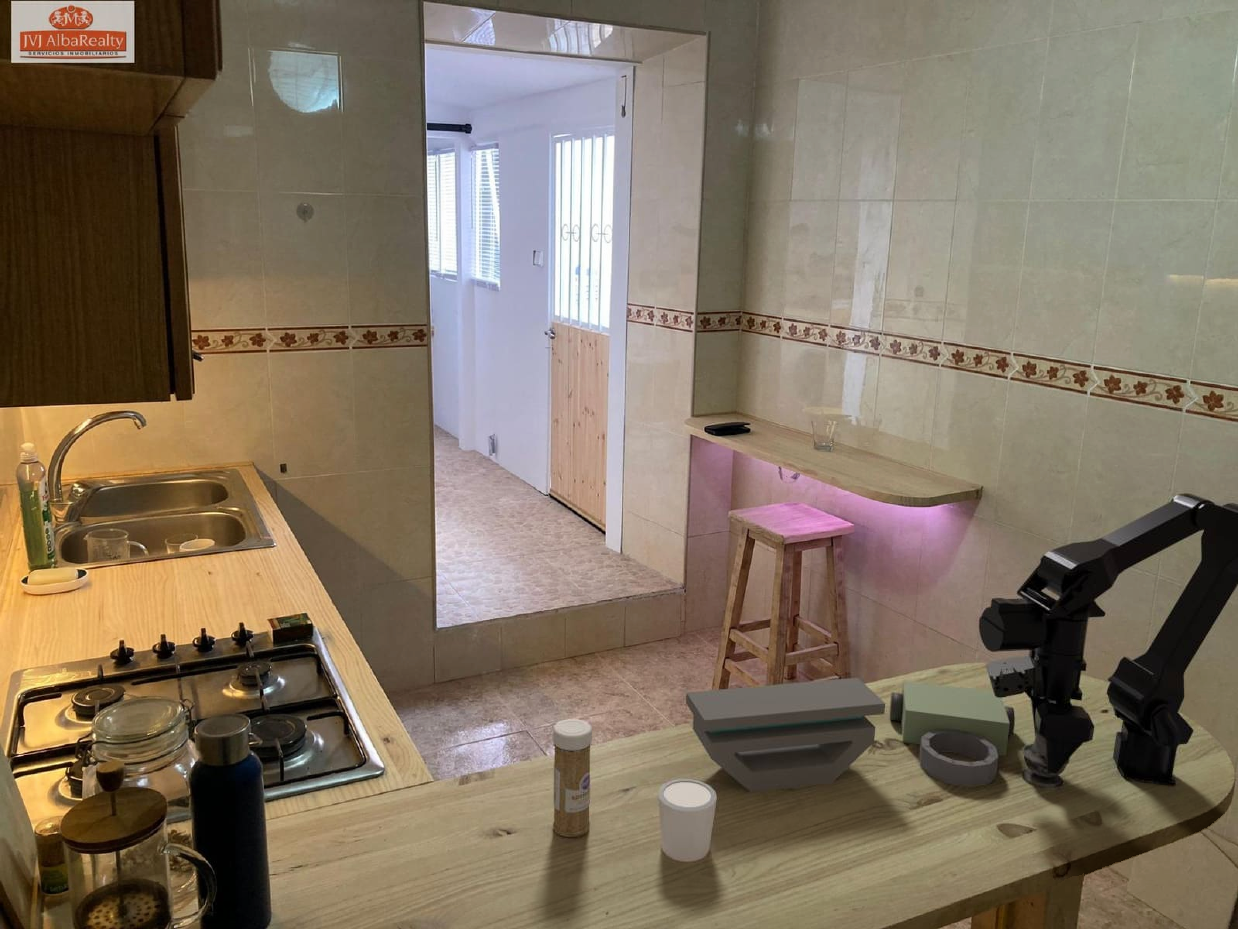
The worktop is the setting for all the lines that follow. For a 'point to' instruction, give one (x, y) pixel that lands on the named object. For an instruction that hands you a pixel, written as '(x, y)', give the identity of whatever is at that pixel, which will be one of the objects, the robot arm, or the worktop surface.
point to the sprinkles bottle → (572, 777)
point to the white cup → (686, 818)
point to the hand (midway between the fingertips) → (1045, 755)
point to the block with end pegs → (954, 729)
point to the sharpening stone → (786, 730)
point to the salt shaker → (1040, 766)
